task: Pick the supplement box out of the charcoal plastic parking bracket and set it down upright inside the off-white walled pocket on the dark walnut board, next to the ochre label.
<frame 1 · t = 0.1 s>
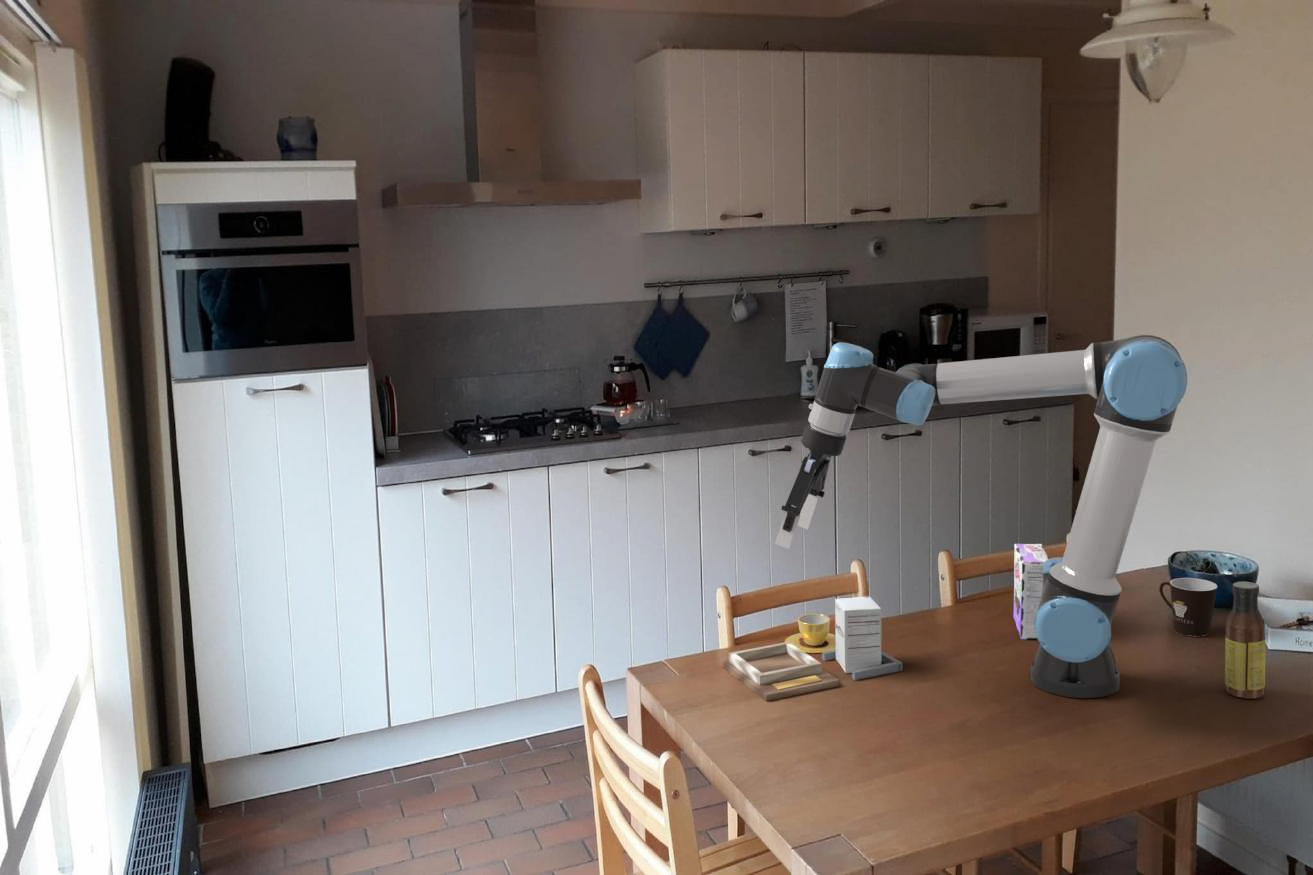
hand: (792, 536, 207), 28 cm above the table, tool tilted 20°, fingers open, 13 cm apart
parking bracket: (858, 665, 217), on the table
cup: (814, 645, 230), on the table
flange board: (779, 676, 213), on the table
sauce bottle: (1243, 694, 198), on the table
supplement box: (858, 666, 217), on the table
coffee mug: (1187, 630, 229), on the table
candy box: (1030, 629, 233), on the table
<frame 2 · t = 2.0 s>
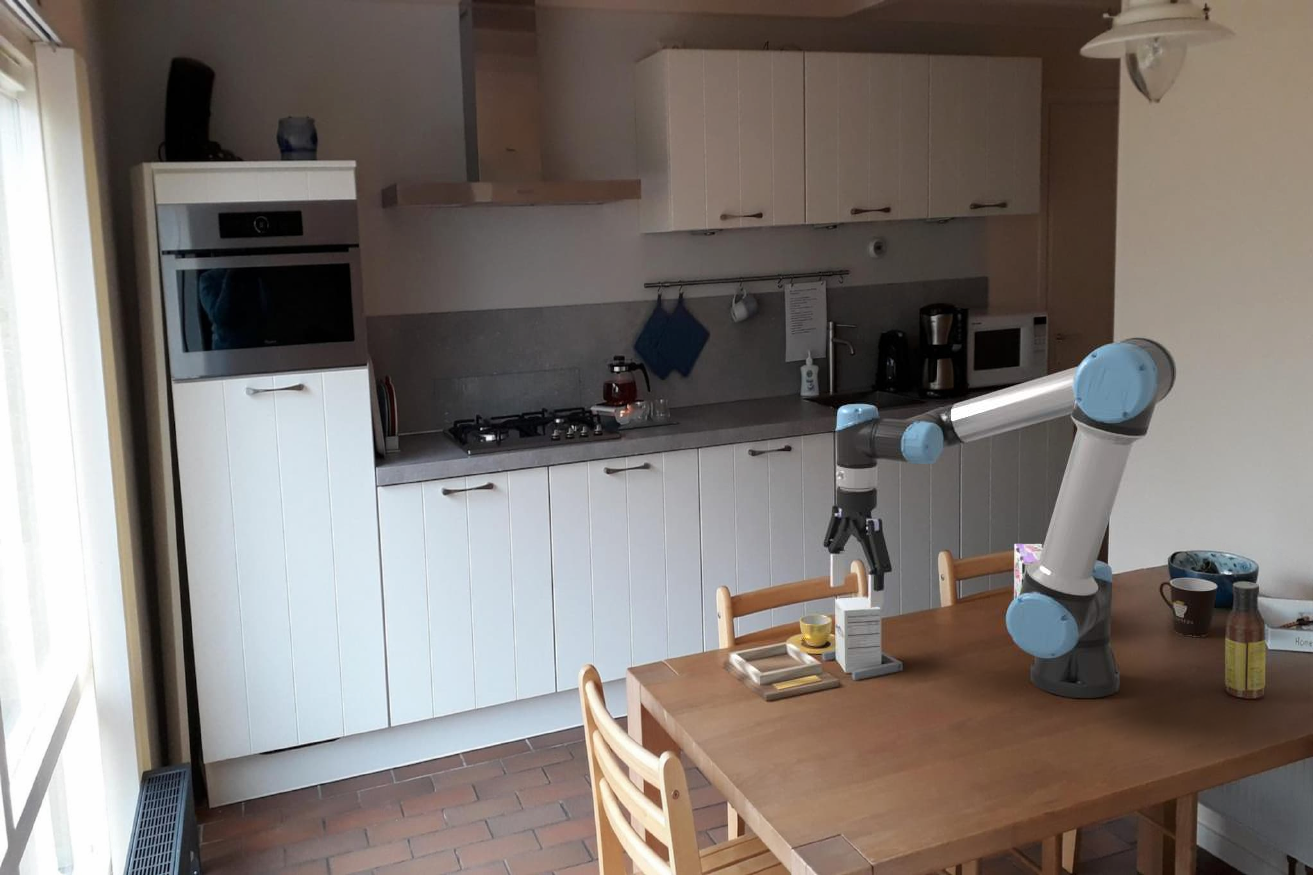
hand: (856, 595, 215), 14 cm above the table, tool pointing down, fingers open, 13 cm apart
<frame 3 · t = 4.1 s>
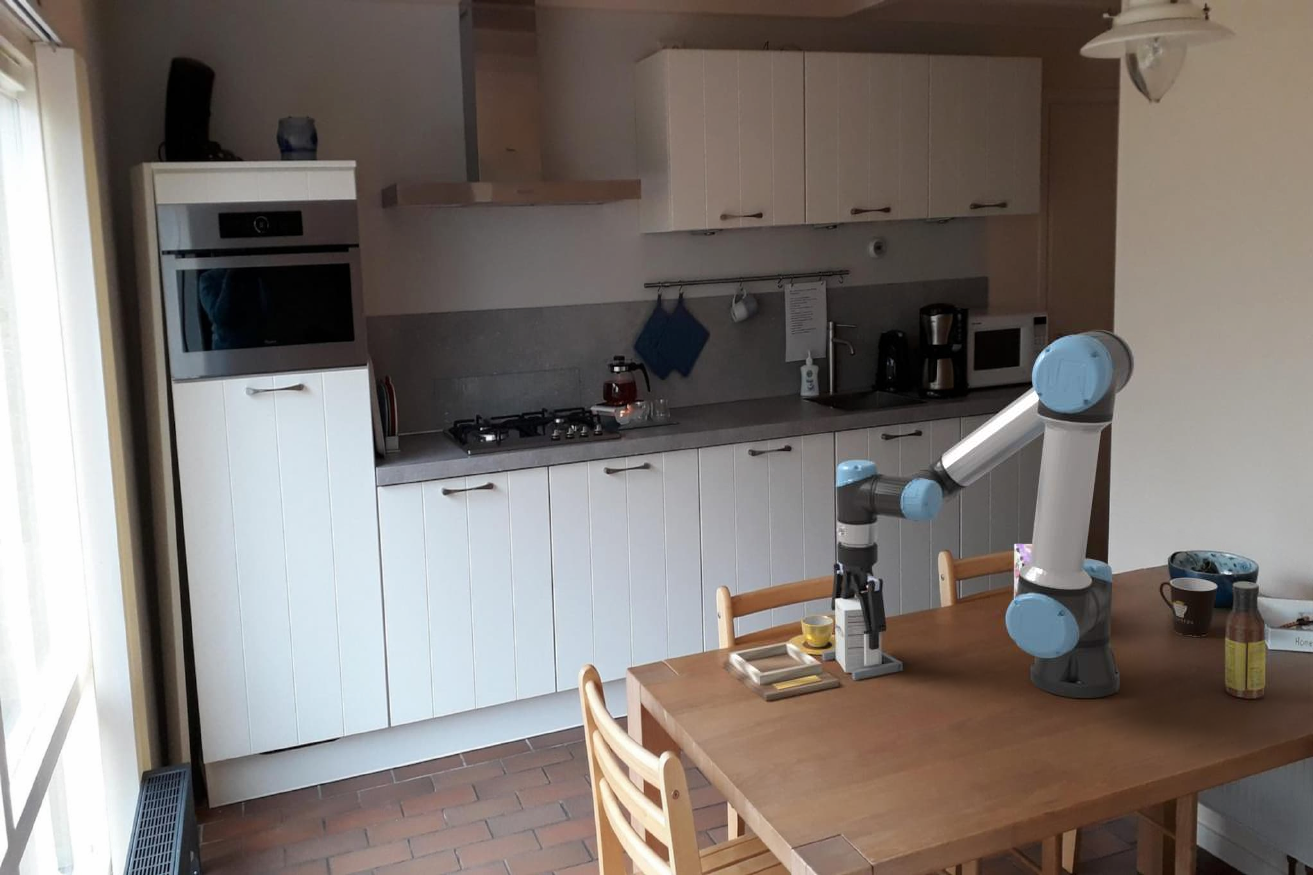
hand: (858, 656, 217), 2 cm above the table, tool pointing down, fingers closed on supplement box, 8 cm apart
supplement box: (858, 666, 217), on the table, touching gripper
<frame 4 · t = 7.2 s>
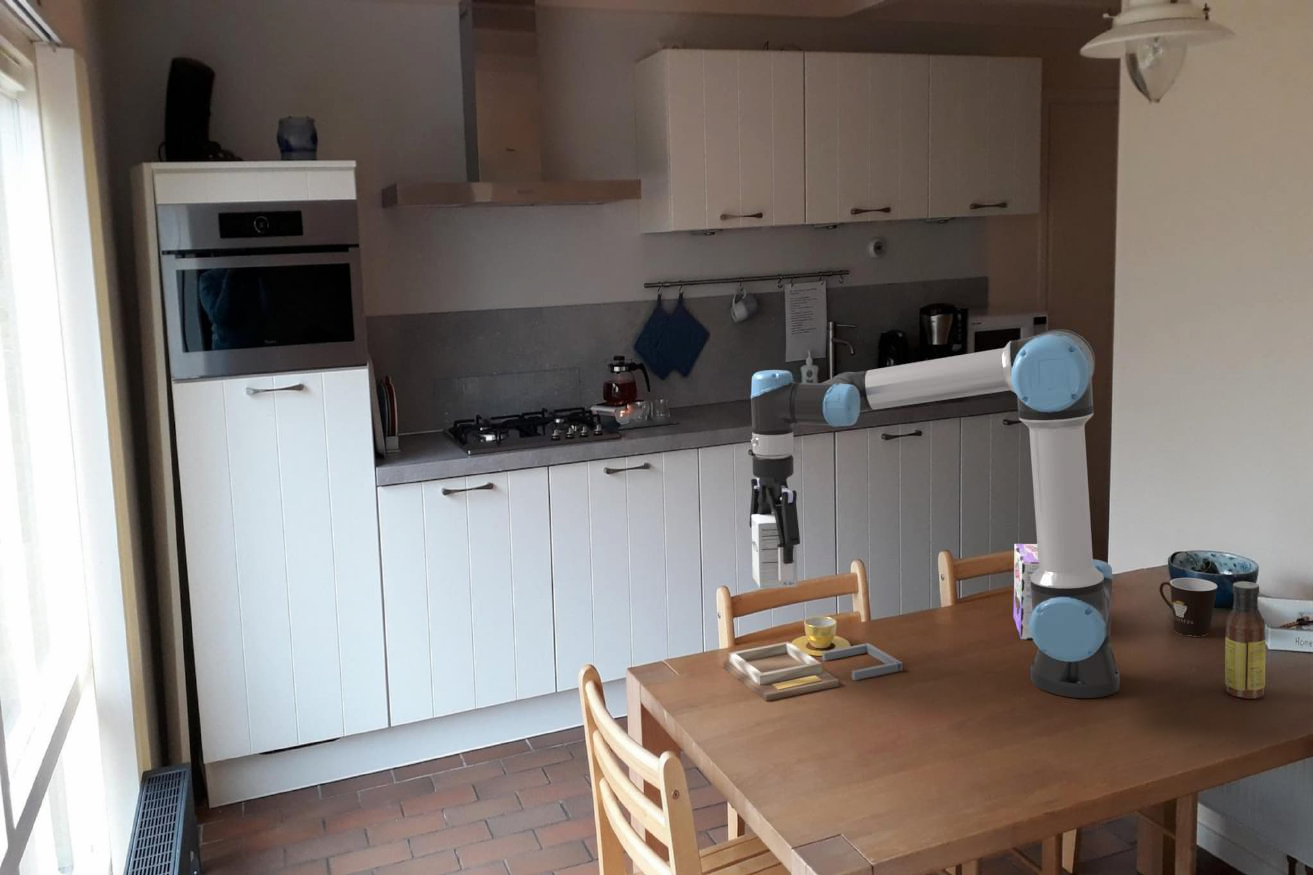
hand: (774, 572, 212), 20 cm above the table, tool pointing down, fingers closed on supplement box, 8 cm apart
supplement box: (774, 583, 212), point 18 cm above the table, touching gripper
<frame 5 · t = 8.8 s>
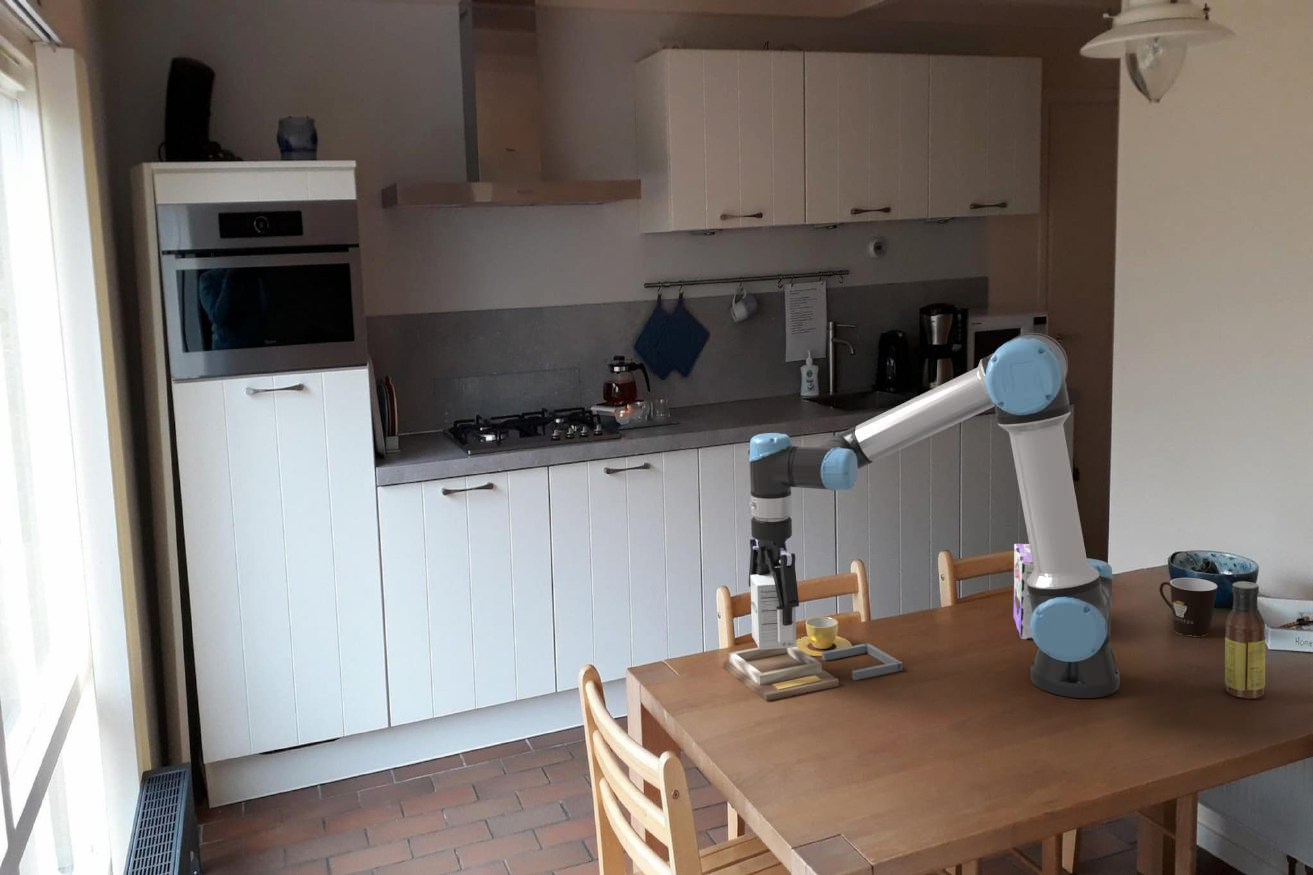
hand: (773, 632, 214), 8 cm above the table, tool pointing down, fingers closed on supplement box, 8 cm apart
supplement box: (773, 643, 214), point 6 cm above the table, touching gripper
when the fingers open (4 cm above the table, at t = 10.3 s): supplement box drops 1 cm, resting on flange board.
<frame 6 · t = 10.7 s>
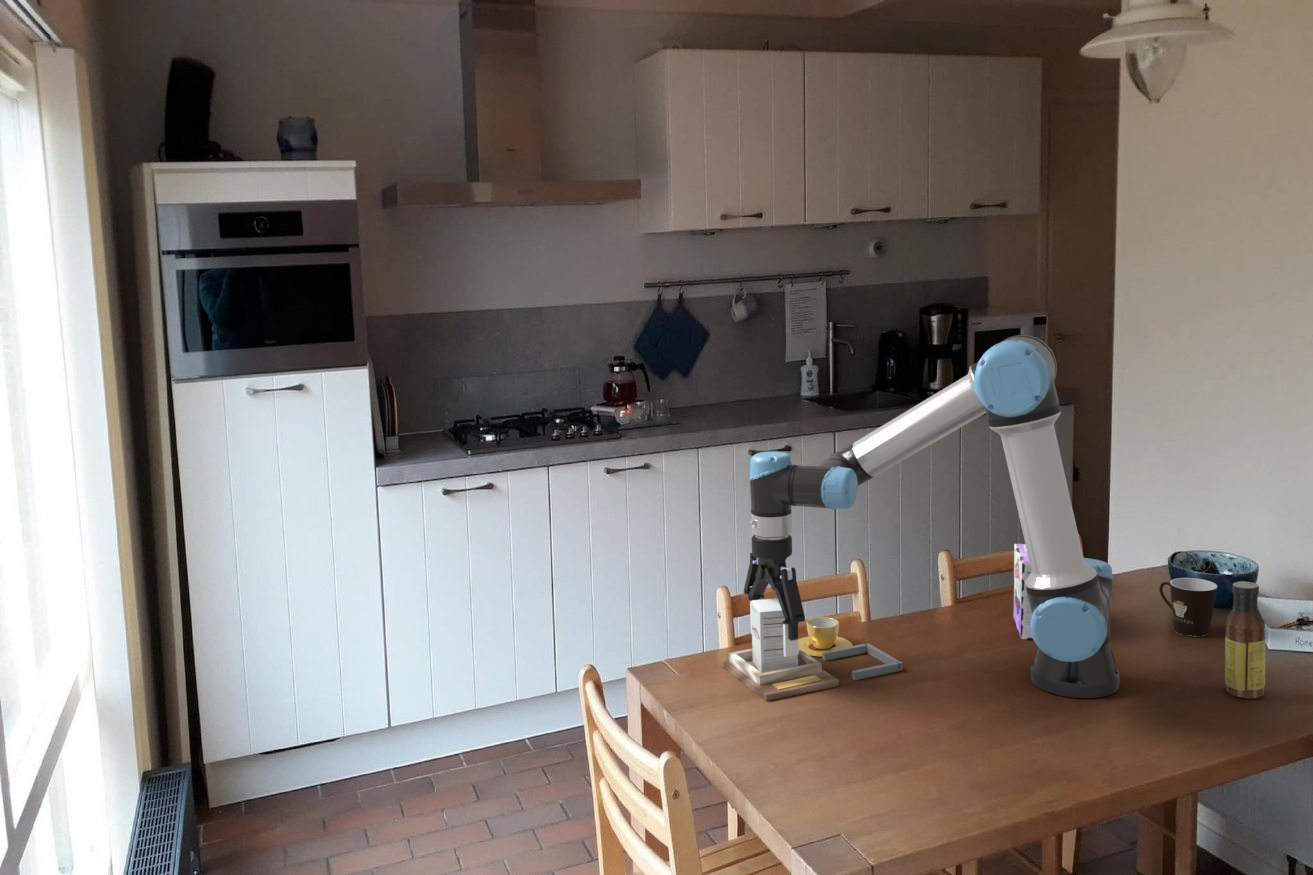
hand: (774, 643, 214), 6 cm above the table, tool pointing down, fingers open, 13 cm apart
cup: (822, 648, 228), on the table, touching parking bracket
supplement box: (775, 668, 215), point 1 cm above the table, touching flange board
everything else where it was.
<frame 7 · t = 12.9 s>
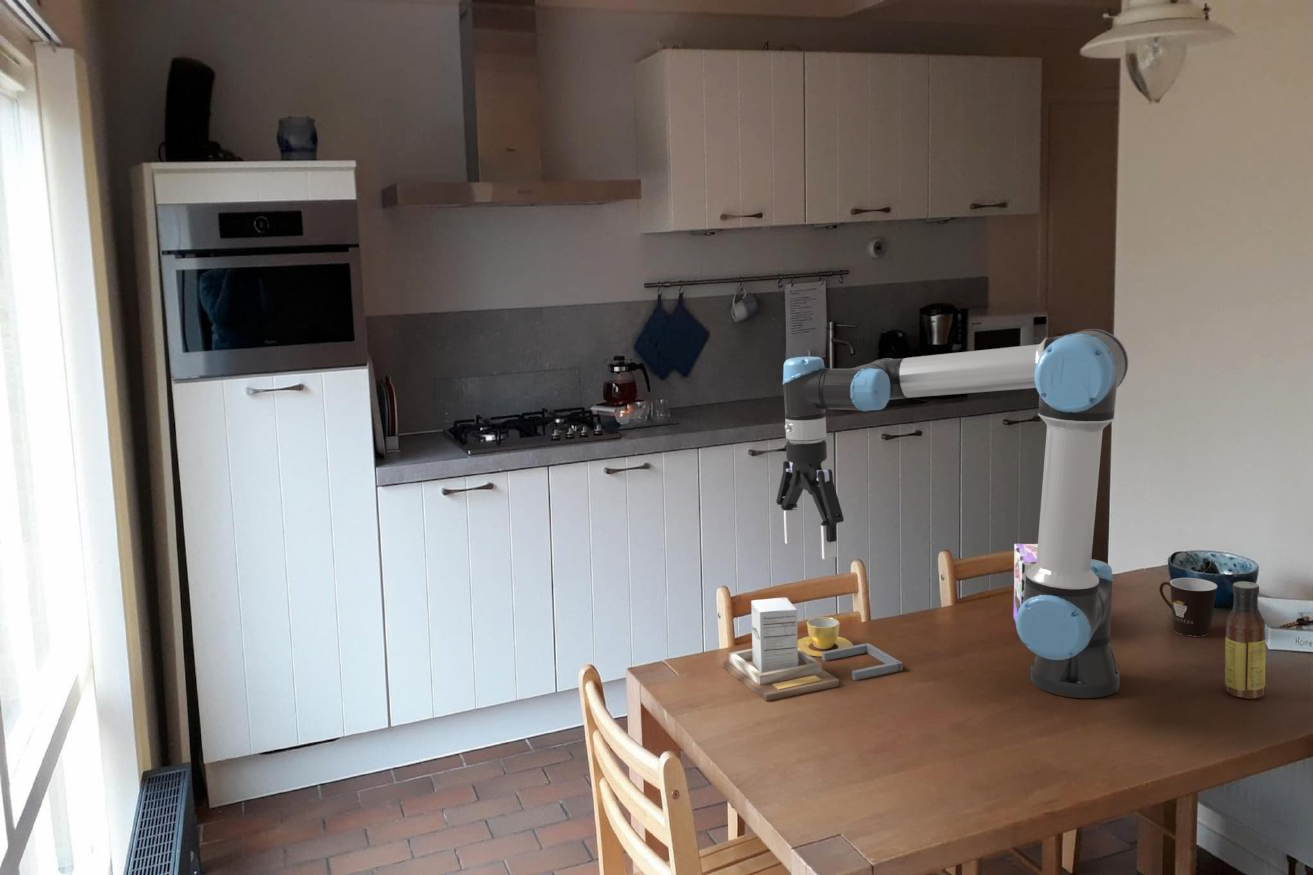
hand: (810, 550, 214), 23 cm above the table, tool pointing down, fingers open, 13 cm apart
cup: (823, 648, 228), on the table
everything else where it was.
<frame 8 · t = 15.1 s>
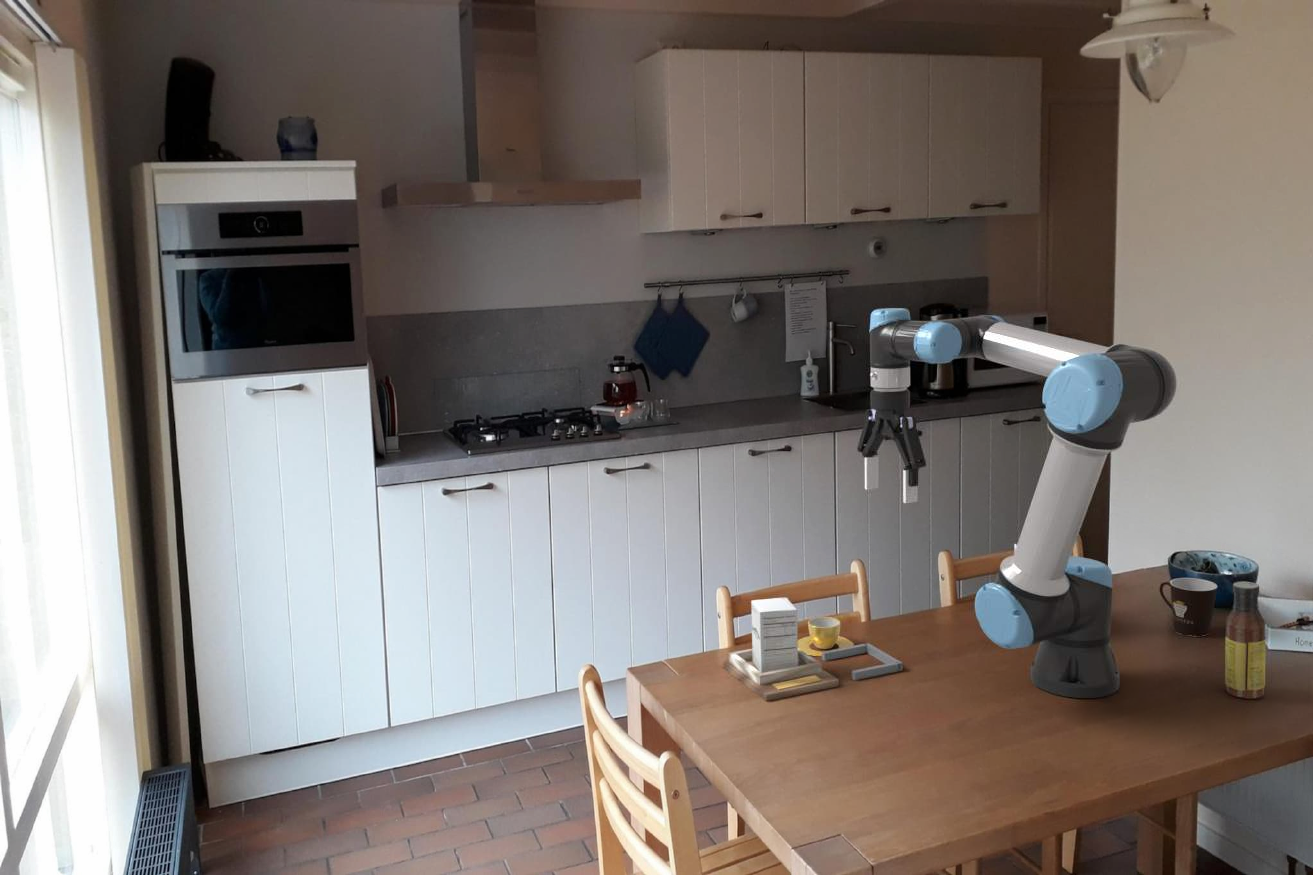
hand: (890, 495, 223), 31 cm above the table, tool pointing down, fingers open, 13 cm apart
nothing on the table moved.
at the end: supplement box 0.3 cm from the target spot on the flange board, point 1.0 cm above the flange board's base; supplement box tilted 0°; the gripper is holding nothing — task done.
